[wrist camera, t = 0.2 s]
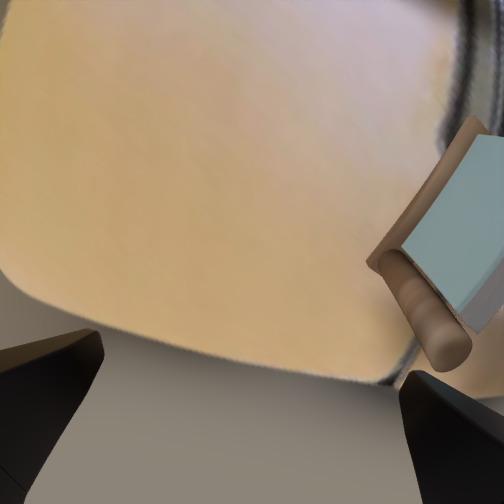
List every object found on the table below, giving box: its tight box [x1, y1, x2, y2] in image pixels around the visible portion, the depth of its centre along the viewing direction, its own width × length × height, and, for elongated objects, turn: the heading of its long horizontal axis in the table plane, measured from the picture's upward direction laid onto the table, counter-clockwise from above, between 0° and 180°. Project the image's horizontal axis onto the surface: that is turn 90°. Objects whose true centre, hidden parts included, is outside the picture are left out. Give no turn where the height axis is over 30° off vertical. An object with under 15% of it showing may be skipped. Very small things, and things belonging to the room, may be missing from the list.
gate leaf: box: [401, 134, 504, 334], centre depth 13 cm, size 1×10×9 cm, turn 148°
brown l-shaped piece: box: [366, 116, 491, 372], centre depth 14 cm, size 3×14×11 cm, turn 148°
